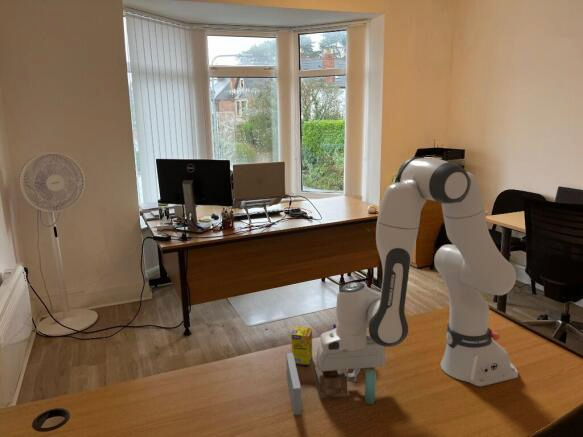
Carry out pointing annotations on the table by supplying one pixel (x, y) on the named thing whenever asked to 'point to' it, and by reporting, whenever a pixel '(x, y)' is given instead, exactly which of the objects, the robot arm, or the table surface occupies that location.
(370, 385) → the dowel
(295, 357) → the supplement box
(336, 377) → the block
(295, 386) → the wall
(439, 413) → the table surface
